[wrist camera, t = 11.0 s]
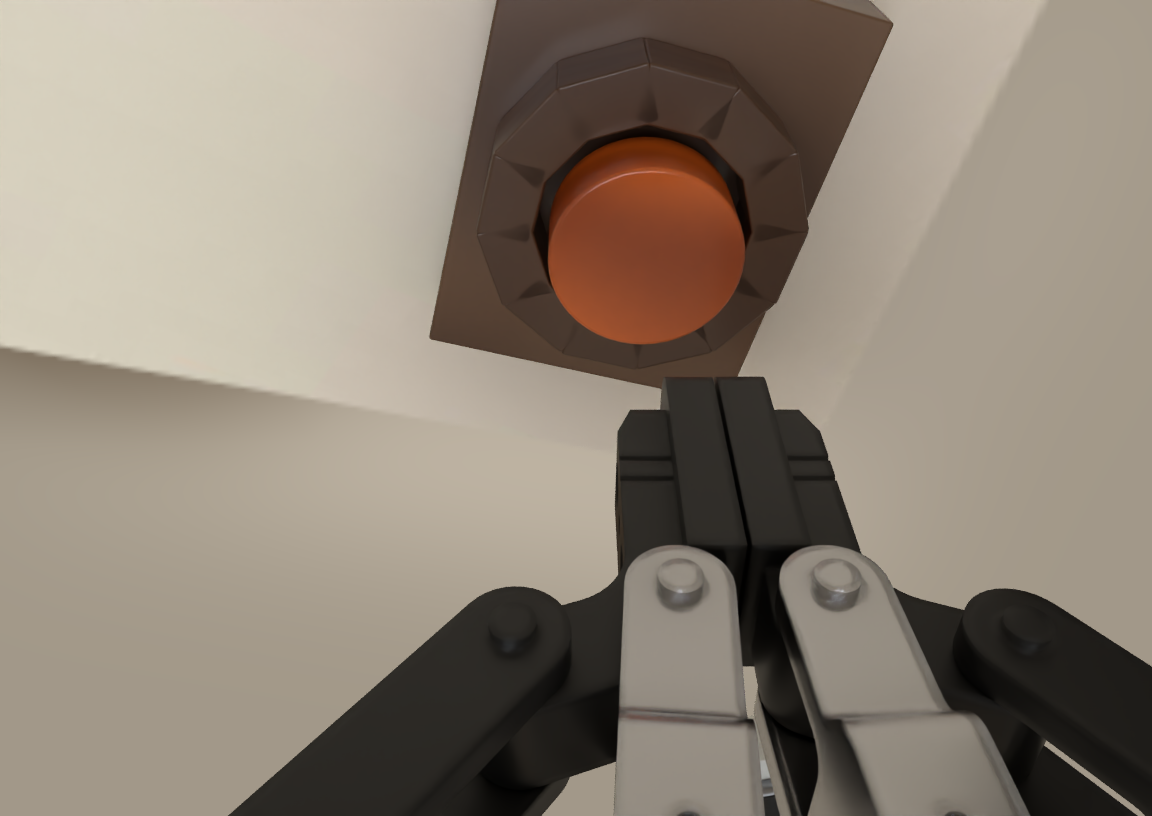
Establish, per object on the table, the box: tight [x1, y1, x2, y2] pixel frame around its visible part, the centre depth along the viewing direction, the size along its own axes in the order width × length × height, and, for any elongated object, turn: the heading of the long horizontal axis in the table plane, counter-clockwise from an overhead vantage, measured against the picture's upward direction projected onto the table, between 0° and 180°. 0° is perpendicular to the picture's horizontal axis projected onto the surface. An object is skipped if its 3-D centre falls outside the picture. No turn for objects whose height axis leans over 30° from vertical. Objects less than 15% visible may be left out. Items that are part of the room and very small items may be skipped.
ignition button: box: [548, 137, 745, 344], centre depth 20 cm, size 4×4×2 cm
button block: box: [429, 0, 893, 389], centre depth 22 cm, size 10×8×4 cm
